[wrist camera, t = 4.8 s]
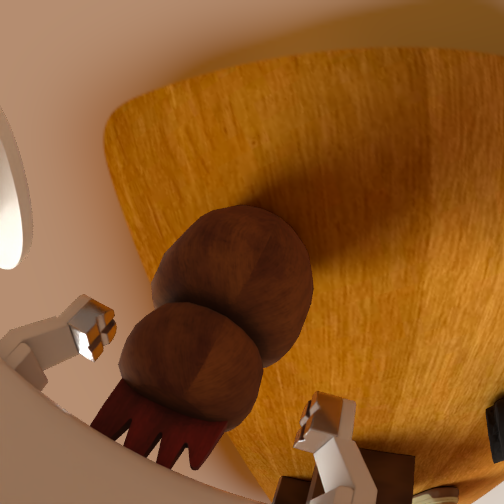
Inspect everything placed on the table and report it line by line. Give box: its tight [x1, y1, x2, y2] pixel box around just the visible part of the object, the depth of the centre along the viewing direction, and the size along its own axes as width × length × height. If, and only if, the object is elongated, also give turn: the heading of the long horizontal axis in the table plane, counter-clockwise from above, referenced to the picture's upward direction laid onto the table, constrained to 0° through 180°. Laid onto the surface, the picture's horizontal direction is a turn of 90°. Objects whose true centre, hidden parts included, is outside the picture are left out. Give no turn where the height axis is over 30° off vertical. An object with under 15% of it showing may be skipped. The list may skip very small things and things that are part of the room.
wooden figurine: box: [90, 205, 314, 470], centre depth 12 cm, size 7×6×15 cm
